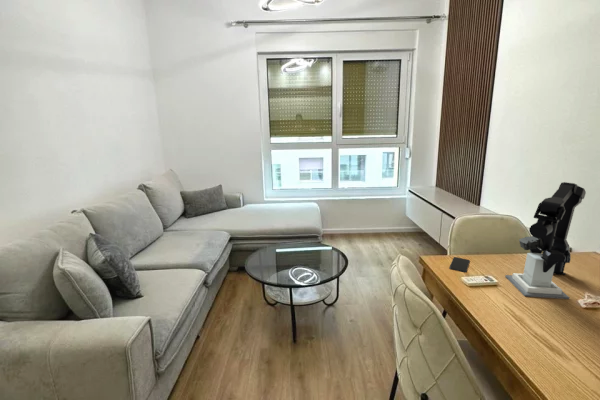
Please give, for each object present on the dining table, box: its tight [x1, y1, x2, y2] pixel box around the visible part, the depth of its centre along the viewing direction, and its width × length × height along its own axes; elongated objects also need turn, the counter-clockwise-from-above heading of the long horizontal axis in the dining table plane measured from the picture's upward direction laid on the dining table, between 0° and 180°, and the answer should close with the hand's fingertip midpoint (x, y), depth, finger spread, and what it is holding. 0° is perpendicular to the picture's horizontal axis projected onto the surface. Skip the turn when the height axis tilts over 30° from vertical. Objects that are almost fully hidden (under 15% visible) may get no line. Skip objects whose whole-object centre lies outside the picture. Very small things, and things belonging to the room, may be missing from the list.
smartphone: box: [448, 256, 471, 273], centre depth 153 cm, size 7×1×15 cm
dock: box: [504, 272, 570, 300], centre depth 132 cm, size 16×16×3 cm
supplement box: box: [522, 252, 555, 288], centre depth 130 cm, size 7×7×13 cm
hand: (539, 267), depth 130 cm, fingers closed on supplement box, 7 cm apart
